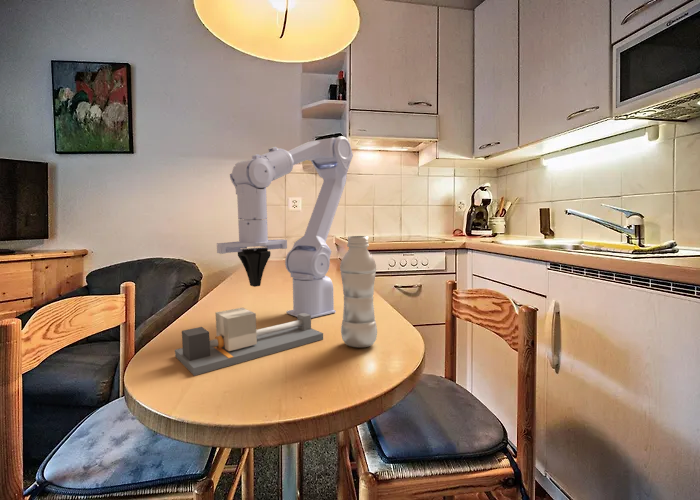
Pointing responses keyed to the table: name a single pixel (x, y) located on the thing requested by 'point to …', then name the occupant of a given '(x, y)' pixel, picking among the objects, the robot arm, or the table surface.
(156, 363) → the table surface
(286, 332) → the rail board
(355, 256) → the plastic bottle
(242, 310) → the sleeve
